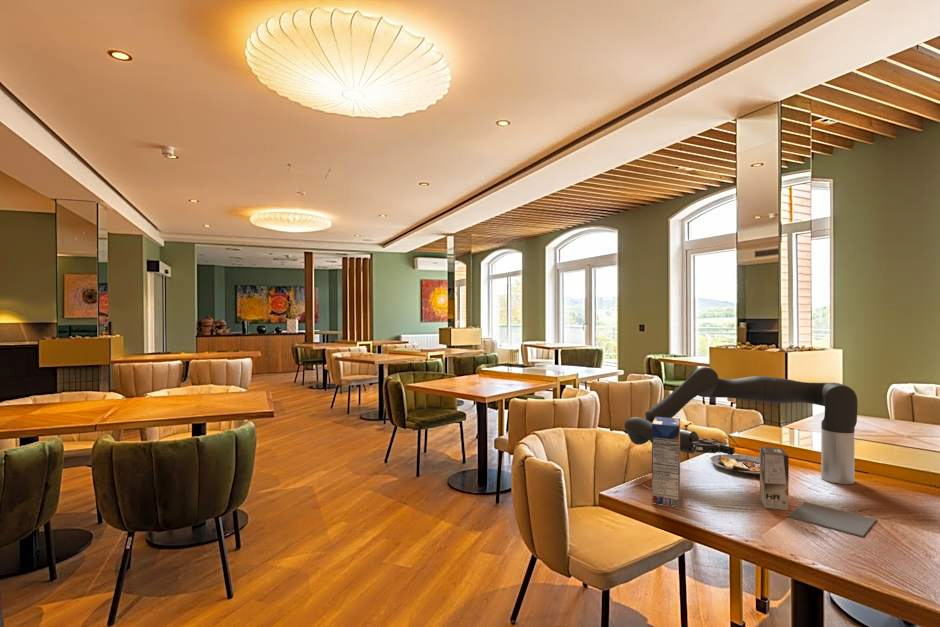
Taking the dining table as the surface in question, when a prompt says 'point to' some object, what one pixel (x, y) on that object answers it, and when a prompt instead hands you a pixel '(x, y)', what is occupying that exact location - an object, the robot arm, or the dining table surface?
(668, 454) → the juice carton
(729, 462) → the food plate
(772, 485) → the coffee box
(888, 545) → the dining table surface
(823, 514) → the rubber mat
